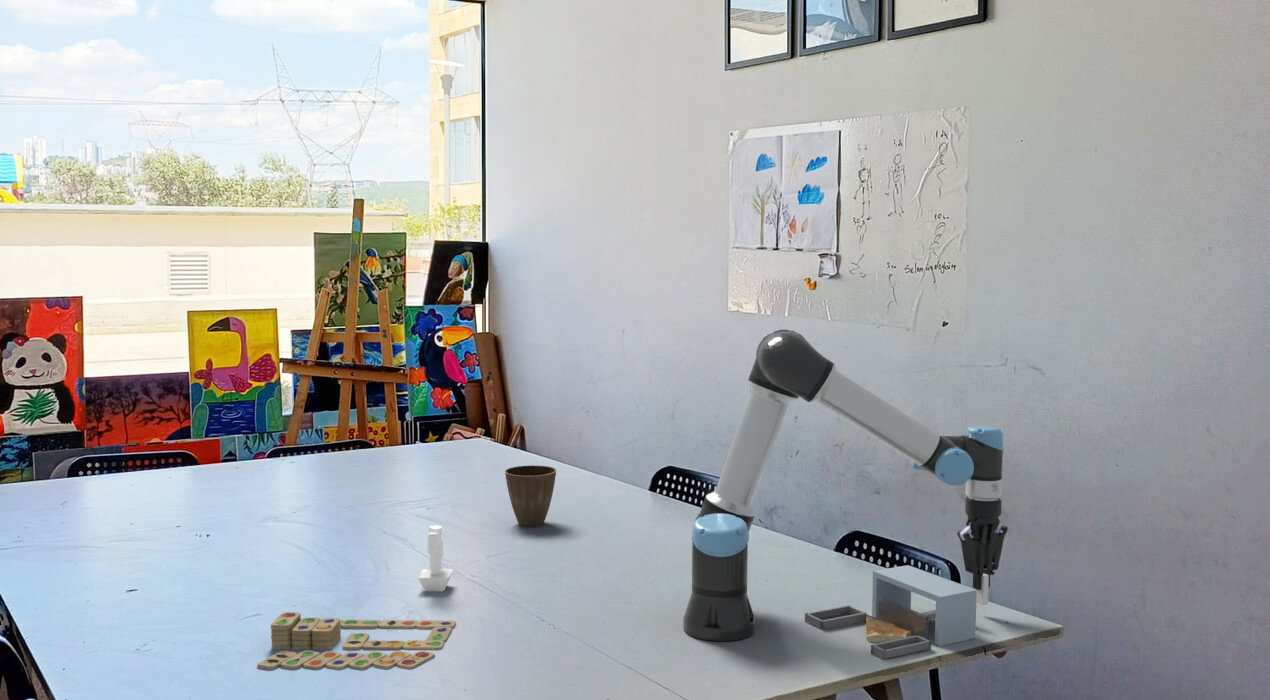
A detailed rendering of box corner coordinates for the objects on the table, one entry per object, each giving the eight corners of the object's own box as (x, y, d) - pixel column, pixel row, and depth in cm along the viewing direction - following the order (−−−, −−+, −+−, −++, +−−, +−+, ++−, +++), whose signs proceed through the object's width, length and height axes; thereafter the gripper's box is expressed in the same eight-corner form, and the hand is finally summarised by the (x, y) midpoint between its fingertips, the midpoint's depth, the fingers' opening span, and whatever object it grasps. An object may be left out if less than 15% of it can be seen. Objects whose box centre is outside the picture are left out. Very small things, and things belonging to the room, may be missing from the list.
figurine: (454, 582, 262) (453, 521, 260) (448, 594, 252) (447, 531, 251) (424, 582, 262) (423, 521, 260) (417, 594, 252) (416, 531, 251)
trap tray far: (822, 630, 229) (822, 621, 229) (804, 621, 234) (804, 613, 234) (866, 621, 235) (866, 613, 235) (848, 613, 240) (848, 605, 240)
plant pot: (554, 530, 311) (553, 475, 310) (502, 530, 312) (501, 475, 310) (558, 518, 326) (558, 465, 325) (508, 517, 326) (508, 465, 325)
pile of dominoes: (250, 672, 206) (250, 644, 206) (294, 624, 233) (294, 599, 233) (434, 673, 206) (433, 644, 206) (456, 625, 233) (456, 599, 233)
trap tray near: (884, 660, 212) (884, 651, 212) (870, 653, 216) (871, 644, 215) (930, 650, 218) (930, 641, 218) (916, 643, 221) (916, 635, 221)
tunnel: (939, 646, 220) (940, 597, 219) (872, 616, 238) (873, 571, 237) (975, 638, 225) (976, 589, 224) (906, 609, 242) (907, 565, 242)
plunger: (924, 641, 222) (925, 612, 222) (878, 621, 234) (879, 593, 234) (979, 629, 230) (980, 600, 229) (932, 610, 242) (933, 583, 241)
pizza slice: (866, 622, 235) (866, 612, 235) (910, 626, 233) (910, 616, 233) (864, 643, 223) (864, 633, 222) (911, 647, 220) (911, 637, 220)
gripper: (974, 503, 230) (971, 612, 232) (1018, 497, 236) (1015, 603, 238) (948, 497, 237) (946, 602, 239) (992, 490, 243) (989, 594, 245)
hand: (980, 602), depth 239 cm, fingers closed
